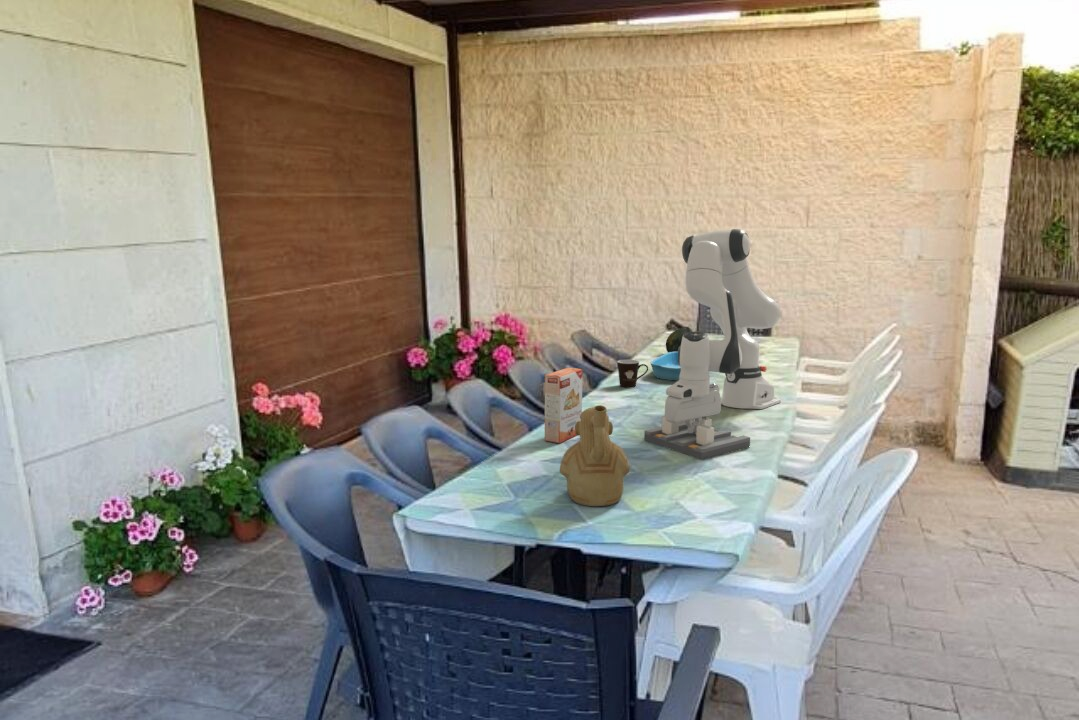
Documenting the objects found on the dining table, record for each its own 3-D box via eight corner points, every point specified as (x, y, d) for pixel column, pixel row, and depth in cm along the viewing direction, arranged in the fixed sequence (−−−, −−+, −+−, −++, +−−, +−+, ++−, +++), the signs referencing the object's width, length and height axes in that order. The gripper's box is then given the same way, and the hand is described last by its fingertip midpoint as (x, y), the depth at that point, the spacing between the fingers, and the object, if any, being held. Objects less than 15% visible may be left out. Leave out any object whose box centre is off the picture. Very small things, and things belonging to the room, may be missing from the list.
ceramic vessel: (623, 483, 202) (624, 389, 198) (635, 512, 183) (636, 408, 178) (557, 485, 202) (557, 390, 197) (562, 514, 183) (561, 409, 178)
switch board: (691, 429, 252) (691, 420, 251) (749, 447, 232) (750, 437, 232) (644, 439, 241) (644, 430, 240) (701, 459, 221) (701, 449, 220)
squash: (658, 342, 385) (669, 322, 374) (686, 341, 390) (697, 321, 379) (667, 364, 377) (678, 345, 366) (695, 364, 382) (707, 344, 370)
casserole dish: (696, 385, 315) (697, 368, 314) (643, 380, 325) (643, 363, 324) (719, 369, 347) (720, 353, 346) (670, 365, 357) (671, 349, 356)
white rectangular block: (701, 432, 240) (702, 414, 239) (711, 435, 237) (711, 417, 236) (694, 433, 238) (695, 416, 237) (704, 436, 235) (704, 418, 234)
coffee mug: (614, 387, 312) (614, 362, 310) (620, 383, 320) (620, 359, 318) (643, 389, 308) (643, 364, 306) (648, 385, 316) (648, 360, 314)
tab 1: (669, 430, 242) (669, 413, 241) (678, 433, 239) (678, 415, 238) (662, 432, 240) (662, 414, 239) (671, 435, 237) (671, 417, 236)
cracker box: (560, 444, 237) (560, 376, 233) (543, 441, 240) (543, 374, 236) (583, 433, 249) (583, 368, 245) (566, 430, 252) (566, 366, 248)
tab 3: (703, 441, 231) (704, 422, 230) (713, 444, 227) (714, 425, 226) (696, 442, 229) (696, 424, 228) (706, 446, 226) (706, 427, 225)
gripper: (711, 380, 241) (709, 424, 243) (661, 390, 229) (660, 435, 232) (726, 384, 236) (725, 428, 238) (676, 394, 224) (675, 440, 227)
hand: (693, 432), depth 235 cm, fingers closed
